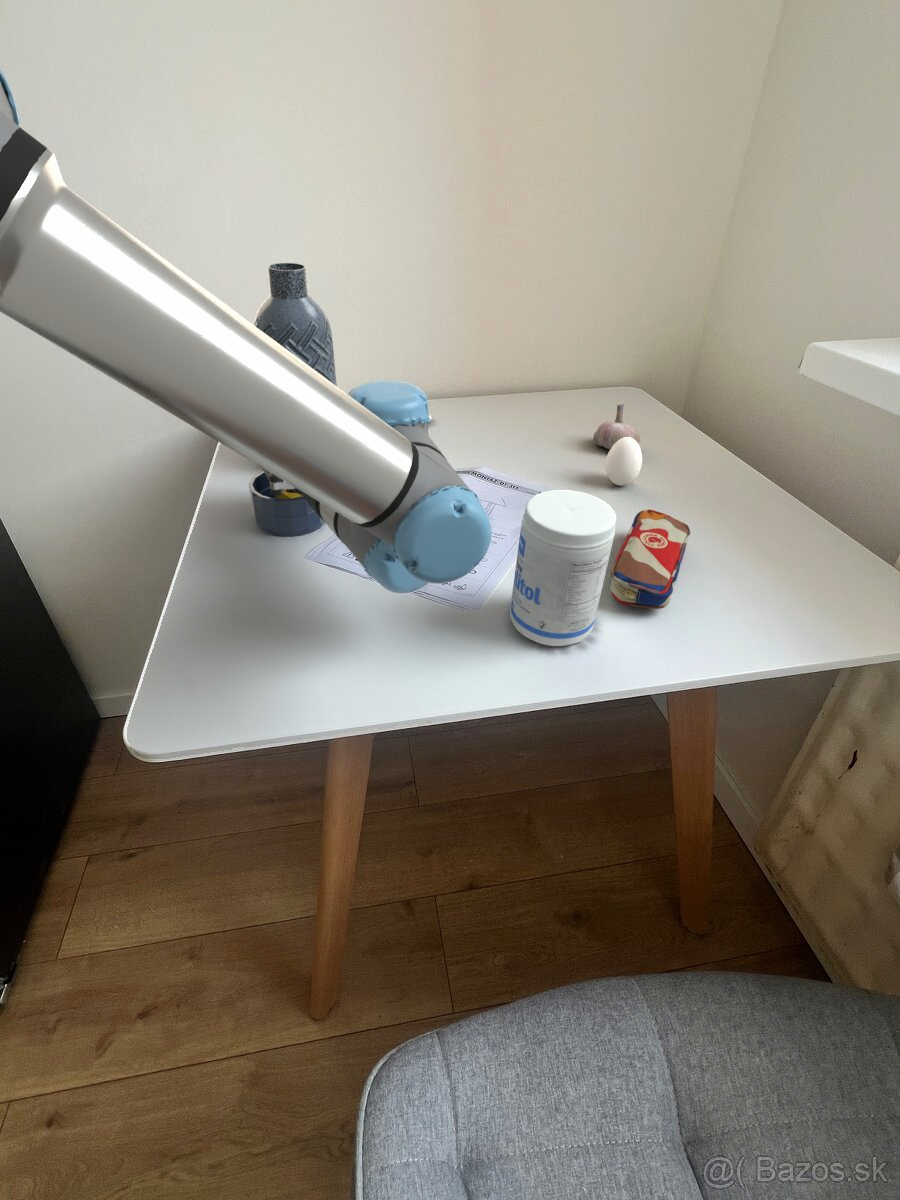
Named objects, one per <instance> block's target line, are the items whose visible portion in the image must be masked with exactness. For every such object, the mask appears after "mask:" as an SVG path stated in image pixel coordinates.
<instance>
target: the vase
mask: <svg viewBox="0 0 900 1200" xmlns="http://www.w3.org/2000/svg"><path fill="white" fill-rule="evenodd" d="M307 271H308V270H307V266H306V265H305V264H301V263H295V262H277V263H272V264H269V265H267V274H268V285H269V296H268V297H267V298H266V299H265V300H264V301H263V302H262V303H261V305H260V306H259V307H258V309H257V312H256V313H255V318H254V324H253V325H254V326H255V327H257V328H258V329H259V330H261V331H262V332H264V333H265V334H266V335H268V336H269V337H270V338H272V339H273V340H274V341H276V342H277V343H278V344H280V345H281V346H283V347H284V348H285V349H287V350H288V351H289V352H291V353H292V354H293V355H295V356H296V357H297V358H299V359H300V360H301V361H303V362H304V363H306V364H307V365H308V366H310V367H311V368H312V369H314V370H315V371H316V372H318V373H319V374H320V375H322V376H323V377H324V378H326V379H327V380H329V381H330V382H331V383H333V384H334V385H335V386H337V387H338V384H337V374H336V363H335V351H334V340H333V334H332V329H331V324H330V320H329V318H328V316H327V313H326V311H325V310H324V308H323V306H322V305H321V304H319V302H317V300H315V299H314V298H313V297H311V296H310V294H309V284H308V283H309V282H308V272H307Z"/></svg>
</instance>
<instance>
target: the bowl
mask: <svg viewBox="0 0 900 1200" xmlns="http://www.w3.org/2000/svg"><path fill="white" fill-rule="evenodd" d="M248 488H249V495H250V496H249V497H250V504H251V510H252V516H253V519H254V521H255V523H256V525H257V527H259V529H260V530H262V531H263V532H265V533H267V534H269V535H273V536H279V537H299V536H303V535H304V536H305V535H308V534H310V533H313V532H315V531H318V530H320V529H321V528H322V527H323V526H324V525H326V523H325V522H324V521H323V520H322V519H321V518H320V517H319V516H318V515H317V513H316V512H315V511H314V510H313V509H312V508H311V507H310V505H309V504H308V502H307V500H306V499H305V497H298V498H292V499H275V496H273V495H272V494H271V488H270V481H269V479H268V477H267V476H266V474H265V472H264V470H263V471H260V472H258V473H257V474H255V475H254V476H253V477H252V478H251V479H250V482H249V483H248Z"/></svg>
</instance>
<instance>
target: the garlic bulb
mask: <svg viewBox="0 0 900 1200" xmlns="http://www.w3.org/2000/svg"><path fill="white" fill-rule="evenodd" d="M616 406H617V407H616V417H615V420H611V421H604V422H602V423H601V424H600V425H599V426H597V429H596V431H595V432H594V434H593V436H592V437H593V443H594V444H595V445H596V446H598V447H603V448H605V449H607V450H609V451H610V450H611V448H612V446H613V445H614V444H615V443H616V442H617V441H618V440H620V439H621V438H624V437H631V438H633V439H634V440H636V441H637V443H638V444H639V445H640V441H641V437H640V434H639V433H638V431H637V429H636V428H635V427H634V426H633V425H629V424H628V423H626V422H624V402H623V401H620V402H618V403H617V405H616Z"/></svg>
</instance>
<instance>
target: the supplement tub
mask: <svg viewBox="0 0 900 1200" xmlns="http://www.w3.org/2000/svg"><path fill="white" fill-rule="evenodd" d="M616 523H617V515H616V512H615V510H614V509H613V508H612V506H611V505H610V504H609V503H608V502H606V501H604V500H603V499H601V498H599V497H597V496H595V495H593V494H589V493H587V492H583V491H579V490H571V489H551V490H545V491H542V492H539V493H537V494H535V495H533V496H531V497H530V498H529V499H528V501H527V502H526V504H525V507H524V513H523V515H522V520H521V525H520V533H519V539H518V546H517V555H516V562H515V570H514V577H513V578H514V579H513V583H512V584H513V586H512V592H511V599H510V600H511V601H510V610H509V617H510V621H511V623H512V625H513V627H514V629H516V631H518V633H520V635H522V636H524V637H525V638H527V639H529V640H531V641H533V642H535V643H537V644H541V645H544V646H551V647H565V646H571V645H575V644H578V643H580V642H581V641H583V640H585V639H587V637H588V636H589V635H590V634H591V632H592V630H593V628H594V625H595V621H596V618H597V617H596V616H597V612H598V608H599V603H600V599H601V596H602V590H603V587H604V583H605V577H606V574H607V568H608V564H609V560H610V556H611V551H612V549H613V544H614V538H615V534H616Z"/></svg>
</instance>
